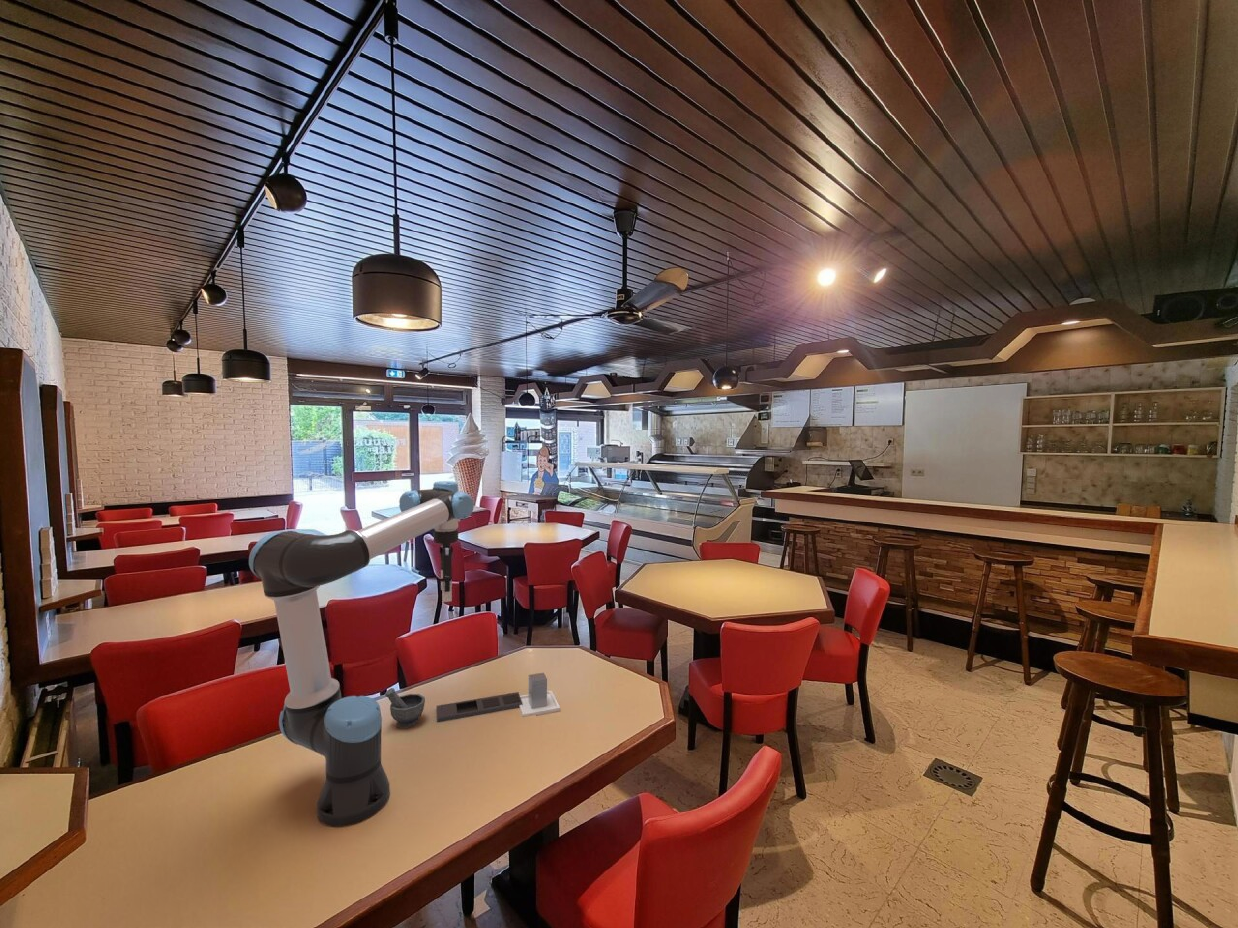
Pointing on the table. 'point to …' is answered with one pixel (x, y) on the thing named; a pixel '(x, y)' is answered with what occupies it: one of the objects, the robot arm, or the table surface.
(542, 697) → the gray rectangular block
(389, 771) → the table surface
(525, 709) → the parts tray
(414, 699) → the mortar and pestle
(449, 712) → the rack rail
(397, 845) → the table surface
